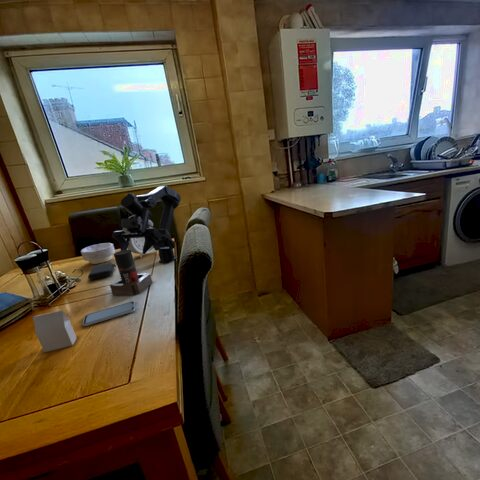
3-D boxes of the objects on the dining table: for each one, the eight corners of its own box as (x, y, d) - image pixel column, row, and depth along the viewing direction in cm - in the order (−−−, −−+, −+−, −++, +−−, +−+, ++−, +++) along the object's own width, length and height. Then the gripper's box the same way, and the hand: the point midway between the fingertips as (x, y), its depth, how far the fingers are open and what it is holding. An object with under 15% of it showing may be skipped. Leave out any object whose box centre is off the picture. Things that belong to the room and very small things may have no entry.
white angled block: (72, 345, 76) (59, 313, 73) (44, 352, 74) (29, 320, 71) (76, 337, 79) (64, 307, 76) (50, 344, 78) (35, 313, 74)
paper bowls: (107, 264, 142) (102, 250, 139) (79, 267, 143) (73, 253, 140) (122, 254, 156) (118, 241, 153) (96, 257, 157) (91, 244, 154)
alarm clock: (136, 260, 143) (124, 218, 135) (127, 259, 147) (115, 218, 140) (162, 250, 155) (153, 211, 148) (153, 249, 160) (143, 211, 152)
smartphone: (85, 314, 90) (134, 300, 96) (85, 317, 91) (134, 302, 96) (82, 325, 84) (134, 309, 90) (83, 327, 84) (135, 311, 90)
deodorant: (125, 293, 105) (113, 256, 100) (124, 288, 110) (113, 252, 105) (141, 288, 108) (131, 252, 102) (140, 283, 113) (130, 248, 107)
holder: (128, 282, 115) (125, 273, 114) (153, 281, 113) (151, 272, 112) (110, 295, 105) (107, 286, 103) (138, 294, 103) (135, 285, 101)
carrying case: (115, 276, 124) (117, 266, 137) (113, 269, 123) (115, 260, 136) (88, 282, 121) (93, 271, 134) (86, 275, 120) (91, 265, 133)
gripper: (107, 211, 111) (97, 246, 104) (150, 207, 107) (143, 243, 101) (125, 226, 121) (116, 259, 114) (165, 223, 117) (158, 256, 111)
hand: (133, 254), depth 110 cm, fingers open, 9 cm apart
